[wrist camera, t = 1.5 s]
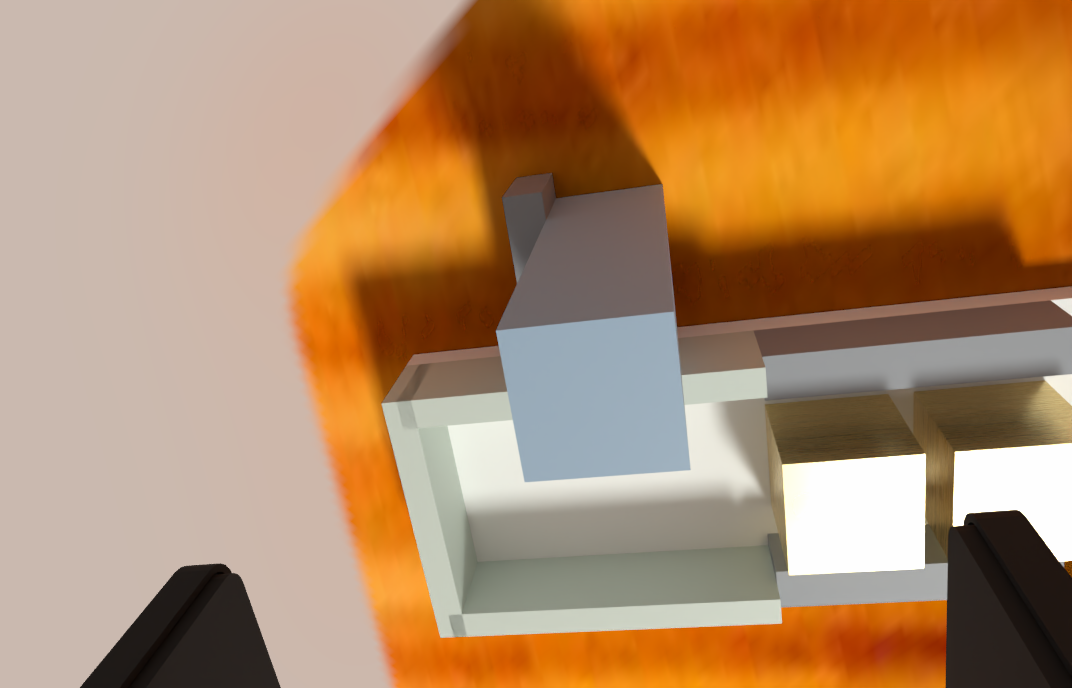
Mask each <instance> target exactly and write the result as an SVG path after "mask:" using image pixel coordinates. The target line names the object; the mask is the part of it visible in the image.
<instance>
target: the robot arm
mask: <svg viewBox="0 0 1072 688" xmlns="http://www.w3.org/2000/svg"><path fill="white" fill-rule="evenodd" d="M80 688H281V687H280V685H279V682H278V679H277V676H276V674H275V671H274V668H273V665H272V662H271V660H270V657H269V654H268V651H267V648H266V645H265V643H264V640H263V637H262V634H261V632H260V628H259V626H258V623H257V620H256V618H255V614H254V612H253V609H252V606H251V603H250V600H249V598H248V595H247V592H246V589H245V587H244V584H243V581H242V579H241V577H240V576H239V575H238V574H235V573H231V571H230V569H229V568H228V567H227V566H226V565H224V564H207V565H192V566H184V567H181V568H180V569H178V570H177V571H176V572H175V573H174V574H173V576H172V577H171V578H170V579H169V580H168V582H167V583H166V584H165V585H164V586H163V588H162V589H161V590H160V591H159V592H158V594H157V595H156V596H155V597H154V599H153V600H152V601H151V602H150V604H149V605H148V606H147V607H146V608H145V609H144V611H143V612H142V613H141V614H140V615H139V617H138V618H137V619H136V620H135V622H134V623H133V624H132V625H131V626H130V628H129V629H128V630H127V631H126V632H125V634H124V635H123V636H122V637H121V639H120V640H119V641H118V642H117V643H116V645H115V646H114V647H113V648H112V649H111V651H110V652H109V653H108V654H107V656H106V657H105V658H104V659H103V660H102V662H101V663H100V664H99V665H98V666H97V668H96V669H95V670H94V671H93V672H92V674H91V675H90V676H89V677H88V678H87V680H86V681H85V682H84V683H83V685H82V686H81V687H80ZM946 688H1072V578H1071V576H1070V575H1069V574H1068V572H1067V571H1066V570H1065V568H1064V567H1063V566H1062V564H1061V563H1060V562H1059V560H1058V559H1057V558H1056V556H1055V555H1054V553H1053V552H1052V551H1051V549H1050V548H1049V547H1048V545H1047V544H1046V543H1045V541H1044V540H1043V539H1042V537H1041V536H1040V535H1039V533H1038V532H1037V531H1036V529H1035V528H1034V527H1033V525H1032V524H1031V523H1030V521H1029V520H1028V519H1027V517H1026V516H1025V515H1024V514H1023V513H1022V512H1021V511H1019V510H1002V511H988V512H973V513H968V514H966V515H965V518H964V522H963V525H962V526H952V527H950V529H949V534H948V579H947V641H946Z"/></svg>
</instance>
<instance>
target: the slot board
mask: <svg viewBox="0 0 1072 688" xmlns="http://www.w3.org/2000/svg"><path fill="white" fill-rule="evenodd" d="M677 333H678V343H679V354H680V364H681V375H682V385H683V395H684V406H685V416H686V427H687V437H688V448H689V458H690V468H691V470H686V471H672V472H659V473H645V474H632V475H618V476H605V477H591V478H578V479H564V480H551V481H537V482H524V476H523V471H522V466H521V461H520V455H519V450H518V445H517V440H516V434H515V429H514V424H513V419H512V413H511V408H510V403H509V398H508V392H507V387H506V382H505V376H504V371H503V366H502V361H501V355H500V350H499V346H492V347H482V348H472V349H463V350H453V351H443V352H434V353H424V354H415V355H413V356H412V358H411V359H410V361H409V362H408V364H407V365H406V367H405V368H404V370H403V371H402V373H401V374H400V376H399V377H398V379H397V381H396V382H395V384H394V385H393V387H392V388H391V390H390V391H389V393H388V394H387V396H386V397H385V399H384V400H383V402H382V403H381V404H382V408H383V412H384V416H385V420H386V423H387V427H388V431H389V435H390V439H391V443H392V447H393V451H394V455H395V459H396V463H397V467H398V471H399V475H400V479H401V483H402V487H403V491H404V495H405V499H406V503H407V507H408V511H409V515H410V519H411V523H412V527H413V530H414V534H415V538H416V542H417V546H418V550H419V554H420V558H421V562H422V566H423V570H424V574H425V578H426V582H427V586H428V590H429V594H430V598H431V602H432V606H433V610H434V614H435V618H436V622H437V626H438V630H439V633H440V637H441V638H444V637H468V636H492V635H516V634H540V633H564V632H588V631H612V630H635V629H659V628H683V627H707V626H731V625H755V624H779V623H782V617H781V607H799V606H822V605H844V604H866V603H888V602H911V601H933V600H947V579H948V559H947V557H946V555H945V553H944V551H943V549H942V548H941V546H940V544H939V542H938V540H937V538H936V537H935V535H934V533H933V531H932V529H931V527H930V525H929V524H928V522H927V520H926V518H925V530H924V568H919V569H900V570H880V571H861V572H842V573H822V574H803V575H789V574H788V570H787V566H786V562H785V558H784V554H783V550H782V546H781V542H780V538H779V534H778V530H777V526H776V522H775V518H774V514H773V510H772V506H771V495H770V479H769V464H768V449H767V434H766V418H765V404H776V403H787V402H799V401H811V400H822V399H834V398H845V397H857V396H868V395H880V394H889V396H890V398H891V399H892V401H893V402H894V404H895V406H896V407H897V409H898V411H899V412H900V414H901V415H902V417H903V419H904V420H905V422H906V423H907V425H908V427H909V428H910V430H911V432H912V433H913V408H914V392H915V391H926V390H938V389H950V388H961V387H973V386H984V385H996V384H1008V383H1019V382H1031V381H1042V380H1045V381H1046V382H1047V383H1048V384H1049V385H1050V386H1051V387H1052V388H1054V389H1055V390H1056V391H1057V392H1058V393H1059V394H1060V395H1061V396H1062V397H1063V398H1064V399H1065V400H1066V401H1067V402H1068V403H1069V404H1070V405H1071V406H1072V286H1070V287H1060V288H1051V289H1041V290H1032V291H1022V292H1012V293H1003V294H993V295H983V296H974V297H964V298H954V299H945V300H935V301H925V302H916V303H906V304H897V305H887V306H877V307H868V308H858V309H848V310H839V311H829V312H819V313H810V314H800V315H791V316H781V317H771V318H762V319H752V320H742V321H733V322H723V323H713V324H704V325H694V326H684V327H677ZM1059 562H1060V563H1061V564H1062V566H1063V567H1064V561H1059Z"/></svg>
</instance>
